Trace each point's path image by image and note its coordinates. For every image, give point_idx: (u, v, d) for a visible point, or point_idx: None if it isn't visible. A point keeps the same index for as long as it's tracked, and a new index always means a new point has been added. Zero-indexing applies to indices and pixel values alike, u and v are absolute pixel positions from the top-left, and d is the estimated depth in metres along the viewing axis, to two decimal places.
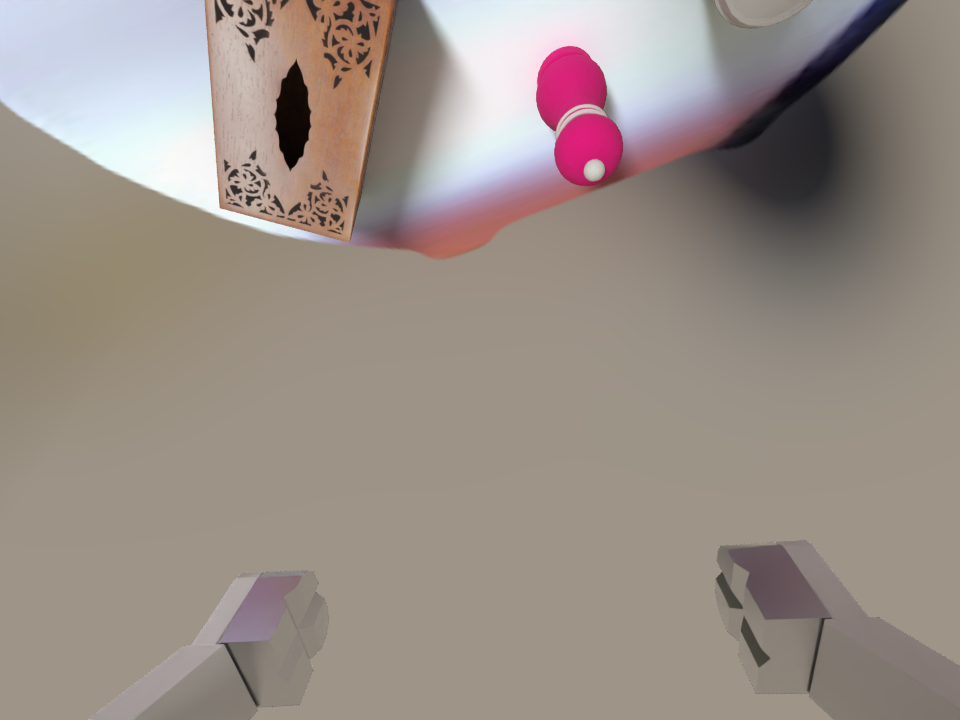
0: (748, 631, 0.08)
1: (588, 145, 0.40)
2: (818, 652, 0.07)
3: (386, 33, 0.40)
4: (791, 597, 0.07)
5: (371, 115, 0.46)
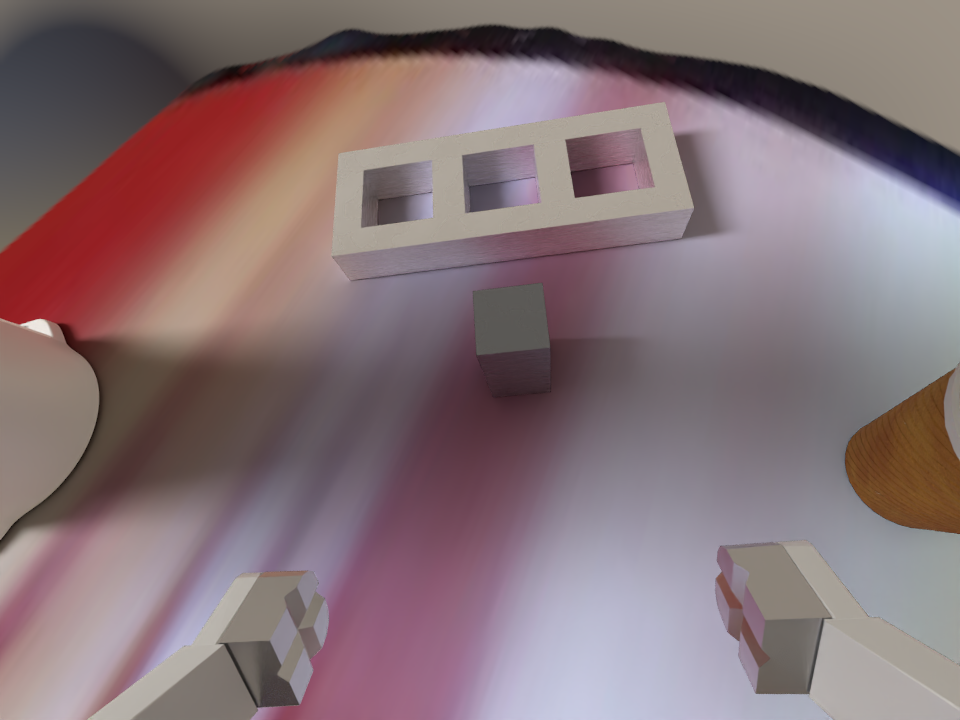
0: (748, 631, 0.08)
1: None
2: (818, 652, 0.07)
3: None
4: (791, 597, 0.07)
5: None
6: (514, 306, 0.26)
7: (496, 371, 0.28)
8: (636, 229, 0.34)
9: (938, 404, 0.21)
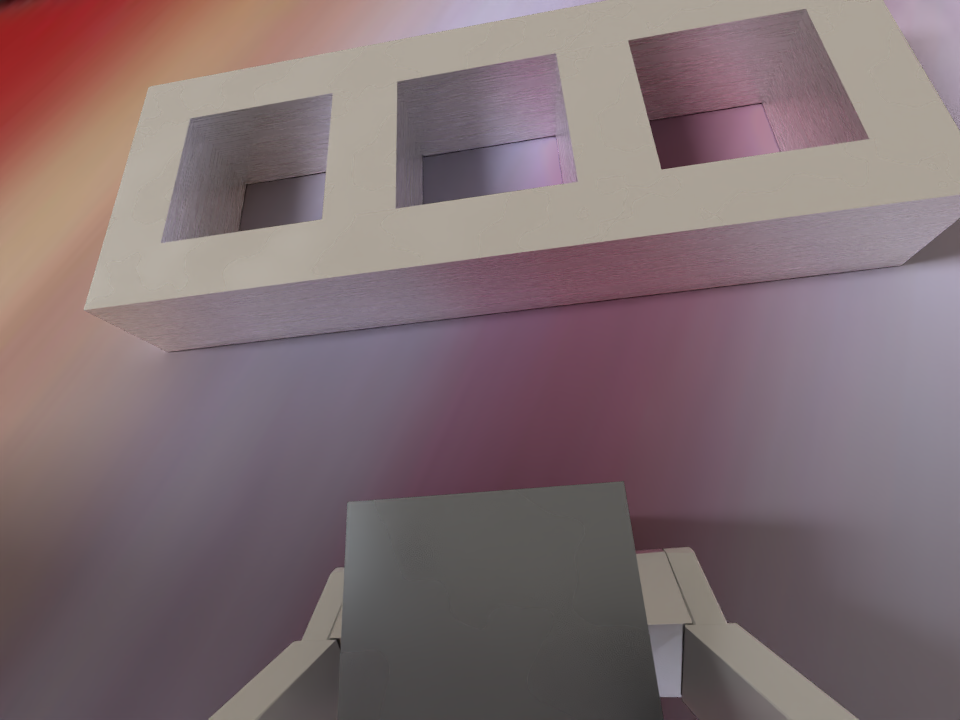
0: None
1: None
2: (683, 656, 0.08)
3: None
4: (660, 603, 0.08)
5: None
6: (507, 591, 0.06)
7: None
8: (811, 246, 0.14)
9: None
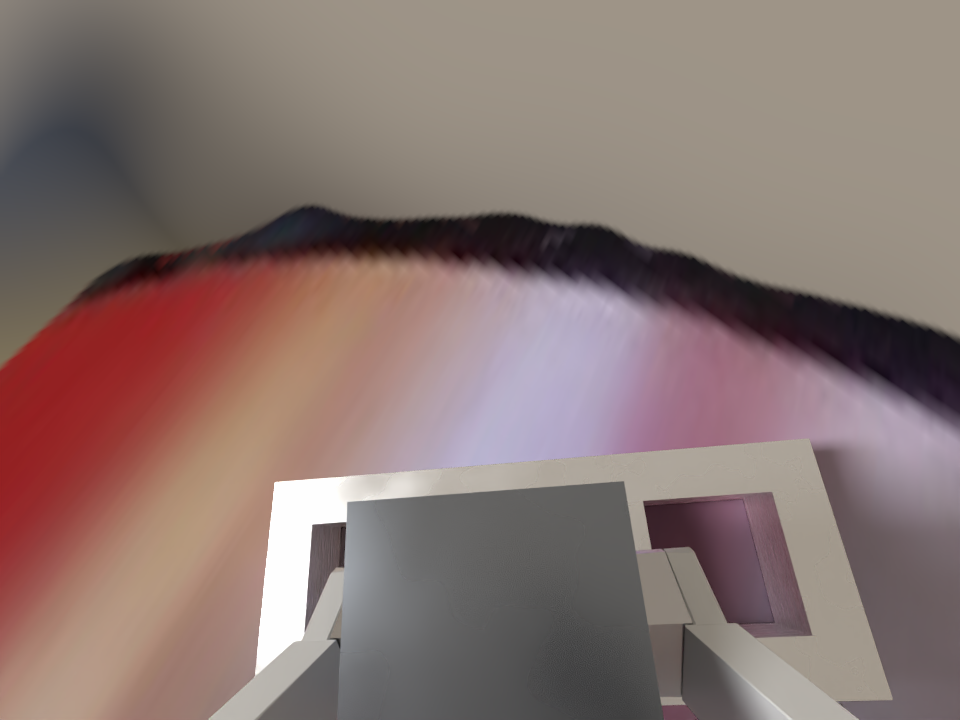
0: None
1: None
2: (683, 656, 0.08)
3: None
4: (660, 603, 0.08)
5: None
6: (508, 591, 0.06)
7: None
8: None
9: None
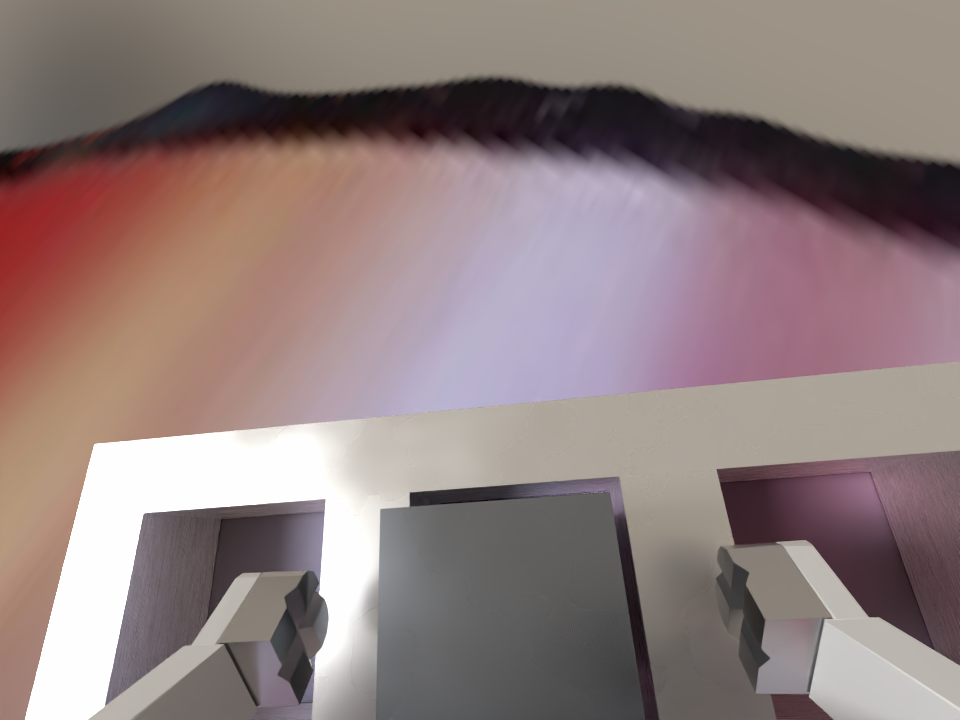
0: (748, 631, 0.08)
1: None
2: (818, 652, 0.07)
3: None
4: (791, 597, 0.07)
5: None
6: (515, 582, 0.08)
7: None
8: None
9: None
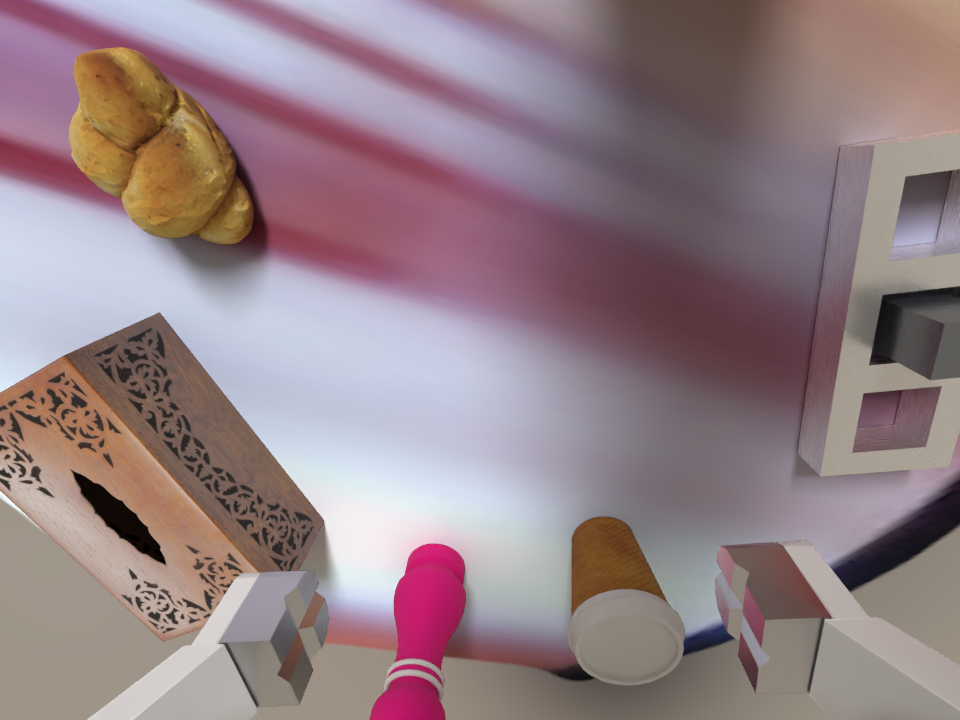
0: (748, 631, 0.08)
1: None
2: (817, 652, 0.07)
3: (90, 386, 0.34)
4: (791, 597, 0.07)
5: (158, 462, 0.36)
6: None
7: (908, 321, 0.33)
8: (814, 430, 0.40)
9: (643, 586, 0.39)
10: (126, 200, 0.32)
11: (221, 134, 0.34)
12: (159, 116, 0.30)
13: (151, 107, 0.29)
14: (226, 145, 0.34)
